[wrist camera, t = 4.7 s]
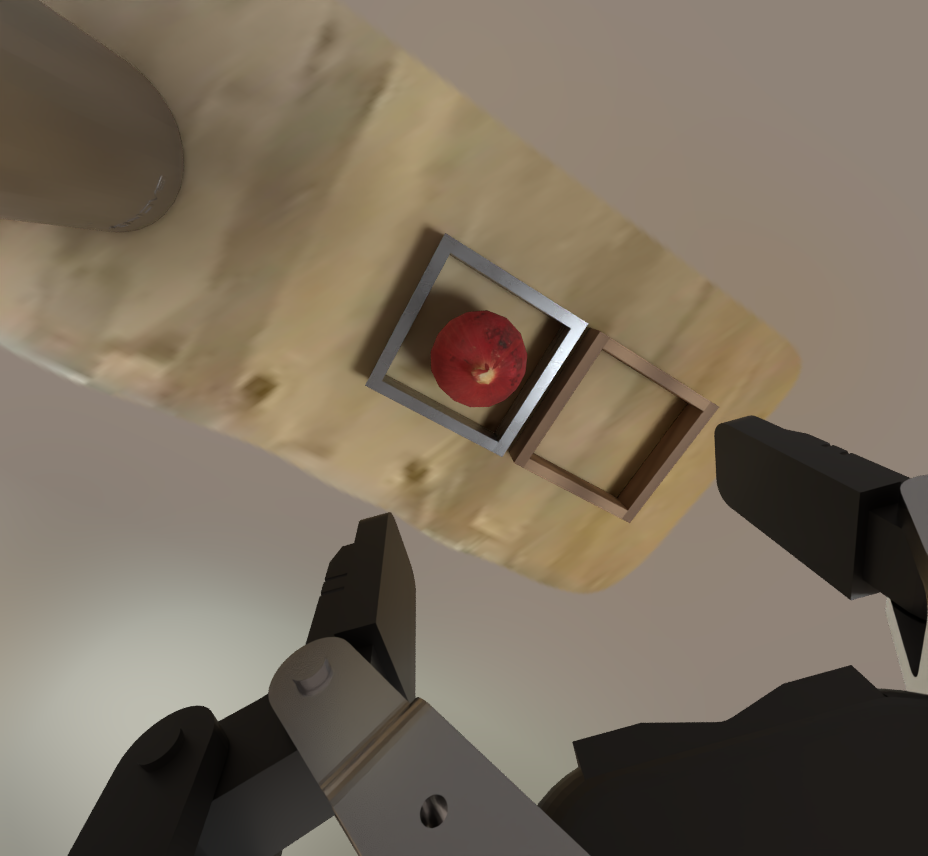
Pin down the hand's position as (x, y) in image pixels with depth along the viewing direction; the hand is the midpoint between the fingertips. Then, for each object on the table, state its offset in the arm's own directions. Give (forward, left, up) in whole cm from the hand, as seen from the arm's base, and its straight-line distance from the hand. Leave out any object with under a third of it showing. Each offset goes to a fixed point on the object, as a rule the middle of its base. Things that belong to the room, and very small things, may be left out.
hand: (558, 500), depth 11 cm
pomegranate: (0, 0, -22) cm, 22 cm away
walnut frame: (+11, +4, -21) cm, 24 cm away
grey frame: (0, 0, -21) cm, 21 cm away
